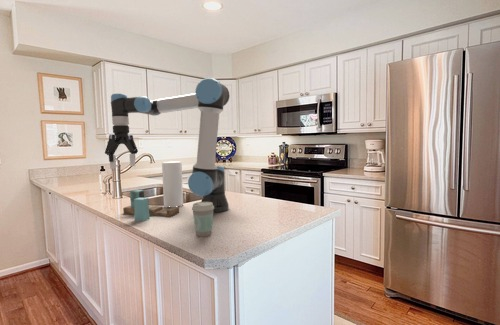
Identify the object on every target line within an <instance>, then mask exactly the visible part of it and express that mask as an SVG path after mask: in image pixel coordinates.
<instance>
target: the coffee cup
mask: <svg viewBox="0 0 500 325" xmlns="http://www.w3.org/2000/svg"><path fill="white" fill-rule="evenodd" d="M213 209H214V206H213V203H212V202H201V201H199V202H193V204H192V206H191V211H192V216H193V222H194V228H195V234H196V236H197V237H202V238H203V237H210V236H211V235H212V232H213V219H214V213H213Z"/></svg>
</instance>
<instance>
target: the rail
mask: <svg viewBox="0 0 500 325" xmlns="http://www.w3.org/2000/svg"><path fill="white" fill-rule="evenodd" d="M129 196H130V205H128V206H125V207H123V208H122V209H123V210H122V211H123V212H122V213H123V214H124V215H134V199H136V198H145V192H144V189H134V190H133V189H132V190H130V191H129ZM177 213H178V214H179V213H180V207H173V208H169V209H168V208H167V209H166V208H164V205H149V216H155V215H163V216H162V217H171V216H172V217H174V216H175V214H176V215H178V214H177ZM173 215H174V216H173Z"/></svg>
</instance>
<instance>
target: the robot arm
mask: <svg viewBox="0 0 500 325" xmlns="http://www.w3.org/2000/svg"><path fill="white" fill-rule="evenodd" d="M229 100H230V91H229V89H228V88H227V86H226V85H224V83H223V84H222V83H221V82H220V81H218V79H216V78H211V77H206V78H203V79H201V80H200V81H199V82H198V84H197V85H196V87H195V93H190V94H183V95H182V94H181V95H176V96H171V97H165V98H158V99H154V100H153V99H152V100H151V99H149V97H148V96H133V97H128V95H127V94H126V93H112V94H111V96H110V105H111V120H112V121H111V122H112V125H113V126H112V133H113V134H109V135H108V141H107V145H106V147H105V152H104V154H105V155H107V156H108V160H109V168H110V169H117V164H116V162H117V161H116V154H115V153H116V151H117V149H118V147H119V146H120V145H121V144H122V145H124V146H125V147H126V149H127V150H128V152H129V154H128V155H129V166H130V167H136V155H137V153H138V152H139V150H138V147H137V145H136V143H135V140H134V135H133V134H130V135H129V133H130V126H129V124H130V121H129V120H130V119H129V114H134V113H135V114H137V113H138V114H144V115H150V116H153V117H154V116H159V115H161V114H167V113H173V112H179V111H185V110H188V111H189V110H192V109H193V110H194V109H198V110H199V111H200V118H199V131H198V142H197V143H198V144H197V153H196V154H197V155H196V162H195V164H194V165H192V173H191V175H189V178H188V179H187V184H188V188H189V191H191V192H192V194H194V195H195V196H198V197H202V198H201V201H200V202H212V203H213V206H214V209H213V214H214V213H215V214H216V213H221V212H227V211H228V210H229V208H230V206H229V202H228V199H227V197H226V196H227V195H226V187H225V186H226V182H225V181H226V180H225V174H226V172H225V167H224V166H221V165H220V166H219V165H216V155H217V154H216V152H217V143H218V133H219V132H218V131H219V124H220V121H219V120H220V114H221V113H222V112H223V111H224V107H225V106H226V104H228V102H229Z"/></svg>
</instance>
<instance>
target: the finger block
mask: <svg viewBox="0 0 500 325" xmlns="http://www.w3.org/2000/svg"><path fill="white" fill-rule="evenodd" d="M149 200H150V199H149V197H144V198H136V199H134V214H133V215H134V221H139V222H145V221H147V219H148V220H150V215H149V206H150V205H149V204H150V203H149Z"/></svg>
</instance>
